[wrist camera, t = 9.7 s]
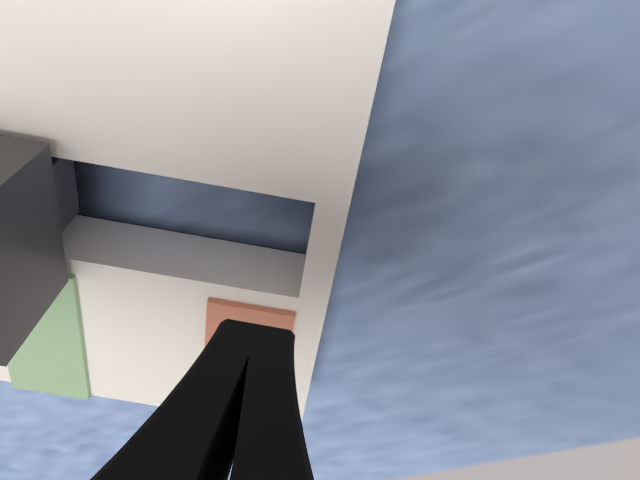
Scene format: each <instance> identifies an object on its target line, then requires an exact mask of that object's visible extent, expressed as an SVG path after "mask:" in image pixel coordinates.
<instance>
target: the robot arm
mask: <svg viewBox="0 0 640 480" xmlns="http://www.w3.org/2000/svg"><path fill="white" fill-rule="evenodd" d="M294 343H295V335H294V333H293V332H292V331H291V330H288V329H282V328H277V327H271V326H266V325H260V324H254V323H249V322H243V321H237V320H232V319H225V320H223V321H222V322H220V324H219V326H218V327H217V329H216V331H215V333H214V334H213V336H212V337H211V339H210V340H209V342H208V343H207V345H206V346H205V348H204V349H203V351H202V352H201V354H200V355H199V356H198V358H197V359H196V361H195V362H194V363H193V365H192V366H191V367H190V369H189V370H188V371H187V373H186V374H185V375H184V376H183V378H182V379H181V380H180V381H179V383H178V384H177V385H176V386H175V388H174V389H173V390H172V391H171V393H170V394H169V395H168V396H167V397H166V399H165V400H164V401H163V402H162V404H161V405H160V406H159V407H158V408H157V409H156V411H155V412H154V413H153V414H152V415H151V416H150V417H149V418H148V420H147V421H146V422H145V423H144V424H143V425H142V426H141V427H140V428H139V429H138V431H137V432H136V433H135V434H134V435H133V436H132V437H131V438H130V439H129V440H128V442H127V443H126V444H125V445H124V446H123V447H122V448H121V449H120V450H119V451H118V452H117V453H116V454H115V455H114V456H113V457H112V458H111V459H110V460H109V461H108V462H107V463H106V464H105V465H104V466H103V467H102V468H101V469H100V470H99V471H98V472H97V473H96V474H95V475H94V476H93V477H92V478H91V479H90V480H227V479H228V476H229V473H230V469H231V466H232V463H233V466H232V471H231V476H230V480H314V478H313V474H312V470H311V465H310V461H309V457H308V453H307V448H306V443H305V438H304V433H303V427H302V422H301V416H300V410H299V404H298V397H297V389H296V379H295V367H294ZM233 460H234V461H233Z"/></svg>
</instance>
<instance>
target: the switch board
mask: <svg viewBox="0 0 640 480" xmlns="http://www.w3.org/2000/svg"><path fill="white" fill-rule="evenodd" d="M395 1H396V0H0V135H4V136H10V137H15V138H21V139H27V140H32V141H38V142H44V143H49V144H50V151H51V156H52V157H57V158H63V159H69V160H74V161H80V162H86V163H91V164H97V165H103V166H108V167H114V168H120V169H126V170H131V171H137V172H143V173H148V174H154V175H160V176H165V177H171V178H177V179H182V180H188V181H194V182H199V183H205V184H211V185H216V186H222V187H228V188H234V189H239V190H245V191H251V192H256V193H262V194H268V195H273V196H279V197H285V198H290V199H296V200H302V201H307V202H313V203H315V206H314V211H313V217H312V222H311V228H310V234H309V239H308V245H307V250H306V254H300V253H294V252H289V251H283V250H277V249H271V248H266V247H260V246H254V245H248V244H242V243H237V242H231V241H225V240H219V239H214V238H208V237H202V236H196V235H190V234H185V233H179V232H173V231H167V230H162V229H156V228H150V227H144V226H138V225H133V224H127V223H121V222H115V221H110V220H104V219H98V218H92V217H86V216H81V215H76V216H75V217H74V219H73V220H72V221H71V222H70V223H69V224H68V226H67V227H66V228H65V229H64V230H63V232H62V239H63V246H64V253H65V260H66V268H67V275H68V282H67V284H66V285H65V286H64V288H63V289H62V291H61V292H60V293H59V295H58V296H57V297H56V299H55V300H54V302H53V303H52V304H51V306H50V307H49V308H48V310H47V311H46V313H45V314H44V315H43V317H42V318H41V319H40V321H39V322H38V323H37V325H36V326H35V328H34V329H33V330H32V332H31V333H30V334H29V336H28V337H27V339H26V340H25V341H24V343H23V344H22V345H21V347H20V348H19V350H18V351H17V352H16V354H15V355H14V356H13V358H12V359H11V361H10V362H9V363H8V365H7V366H6V367H5V366H0V380H2V381H8V382H12V386H13V388H18V389H24V390H30V391H36V392H42V393H48V394H54V395H60V396H67V397H73V398H79V399H85V400H89V398H90V396H91V395H94V396H100V397H106V398H112V399H118V400H124V401H130V402H137V403H143V404H149V405H155V406H160V405H161V404H162V402H163V401H164V400H165V399H166V397H167V396H168V395H169V394H170V393H171V391H172V390H173V389H174V388H175V386H176V385H177V384H178V383H179V381H180V380H181V379H182V378H183V376H184V375H185V374H186V373H187V371H188V370H189V369H190V367H191V366H192V365H193V363H194V362H195V361H196V359H197V358H198V356H199V355H200V354H201V352H202V351H203V349H204V348H205V346H206V345H207V343H208V342H209V340H210V339H211V337H212V336H213V334H214V333H215V331H216V329H217V327H218V326H219V324H220V322H222V321H223V320H225V319H232V320H237V321H243V322H249V323H254V324H260V325H266V326H271V327H277V328H282V329H288V330H291V331H292V332H293V333H294V335H295V343H294V367H295V379H296V389H297V397H298V404H299V410H300V416H301V422H302V418H303V414H304V409H305V405H306V400H307V396H308V391H309V387H310V382H311V378H312V373H313V369H314V364H315V360H316V355H317V351H318V346H319V342H320V337H321V333H322V329H323V324H324V320H325V315H326V311H327V306H328V302H329V297H330V293H331V288H332V284H333V279H334V275H335V270H336V266H337V261H338V257H339V252H340V248H341V243H342V239H343V234H344V230H345V225H346V221H347V216H348V212H349V207H350V203H351V198H352V194H353V189H354V185H355V181H356V176H357V172H358V167H359V163H360V158H361V154H362V149H363V145H364V140H365V136H366V131H367V127H368V122H369V118H370V113H371V109H372V104H373V100H374V95H375V91H376V86H377V82H378V77H379V73H380V68H381V64H382V59H383V55H384V50H385V46H386V41H387V37H388V33H389V28H390V24H391V19H392V15H393V10H394V6H395Z"/></svg>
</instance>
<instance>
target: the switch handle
mask: <svg viewBox="0 0 640 480" xmlns="http://www.w3.org/2000/svg"><path fill="white" fill-rule="evenodd" d="M78 213H79V202H78V193H77V184H76V175H75V166H74V160H69V159H63V158H57V157H52V156H51V151H50V144H49V143H44V142H38V141H32V140H27V139H21V138H15V137H10V136H4V135H0V366H5V367H6V366H7V365H8V363H9V362H10V361H11V359H12V358H13V356H14V355H15V354H16V352H17V351H18V350H19V348H20V347H21V345H22V344H23V343H24V341H25V340H26V339H27V337H28V336H29V334H30V333H31V332H32V330H33V329H34V328H35V326H36V325H37V323H38V322H39V321H40V319H41V318H42V317H43V315H44V314H45V313H46V311H47V310H48V308H49V307H50V306H51V304H52V303H53V302H54V300H55V299H56V297H57V296H58V295H59V293H60V292H61V291H62V289H63V288H64V286H65V285H66V284H67V282H68V275H67V268H66V260H65V253H64V246H63V239H62V232H63V230H64V229H65V228H66V227H67V226H68V224H69V223H70V222H71V221H72V220H73V219H74V217H75V216H76V215H77V214H78Z"/></svg>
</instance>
